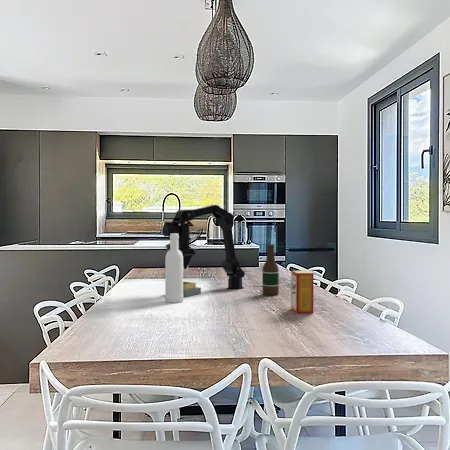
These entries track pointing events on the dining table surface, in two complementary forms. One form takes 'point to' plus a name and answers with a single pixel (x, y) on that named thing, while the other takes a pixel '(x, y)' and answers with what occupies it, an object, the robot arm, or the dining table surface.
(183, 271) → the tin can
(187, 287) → the gearbox
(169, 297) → the bottle
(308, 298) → the baking soda box
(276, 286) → the beer bottle
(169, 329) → the dining table surface
